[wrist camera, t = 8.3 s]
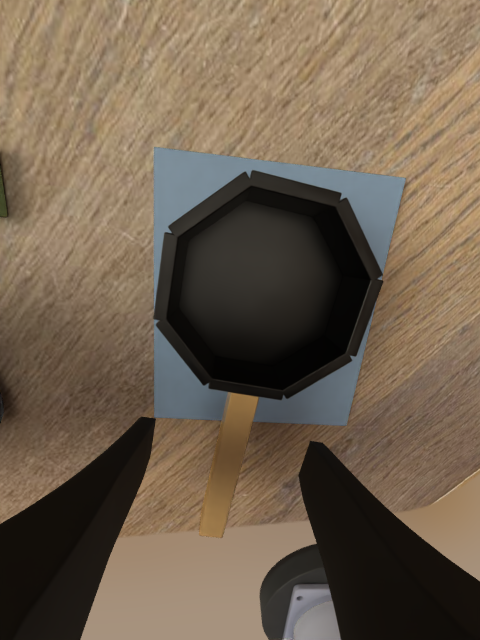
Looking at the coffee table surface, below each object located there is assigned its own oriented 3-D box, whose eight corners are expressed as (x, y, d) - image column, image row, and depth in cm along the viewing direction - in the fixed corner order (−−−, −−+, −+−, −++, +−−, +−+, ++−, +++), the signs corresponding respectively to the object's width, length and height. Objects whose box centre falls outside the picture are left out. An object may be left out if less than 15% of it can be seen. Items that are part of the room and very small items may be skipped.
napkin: (344, 422, 14) (346, 426, 14) (155, 414, 14) (154, 417, 13) (401, 179, 11) (406, 177, 11) (155, 149, 10) (153, 146, 10)
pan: (189, 178, 10) (174, 148, 7) (362, 220, 11) (410, 209, 8) (146, 474, 14) (126, 529, 11) (277, 489, 15) (288, 545, 12)
